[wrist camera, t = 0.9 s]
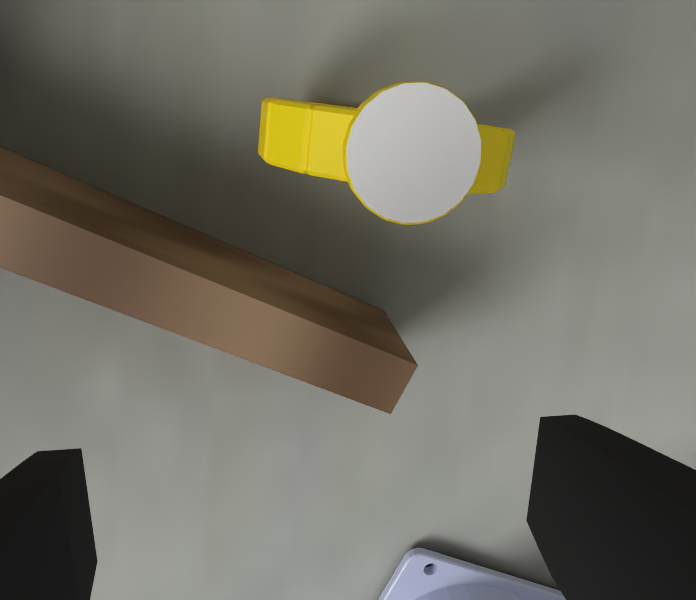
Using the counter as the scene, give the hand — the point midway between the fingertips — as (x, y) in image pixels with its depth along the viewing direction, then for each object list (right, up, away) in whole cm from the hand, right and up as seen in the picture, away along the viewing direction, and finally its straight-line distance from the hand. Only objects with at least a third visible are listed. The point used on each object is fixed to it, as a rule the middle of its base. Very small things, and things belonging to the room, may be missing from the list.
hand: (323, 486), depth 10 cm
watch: (+1, +8, +8) cm, 11 cm away
